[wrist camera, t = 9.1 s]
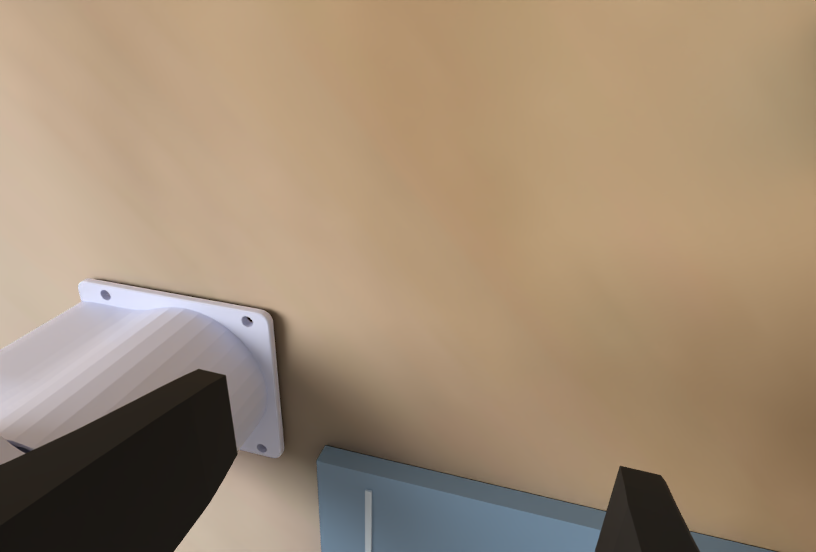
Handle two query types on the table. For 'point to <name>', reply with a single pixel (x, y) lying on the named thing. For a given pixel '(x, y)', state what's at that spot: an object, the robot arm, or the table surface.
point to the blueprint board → (449, 513)
